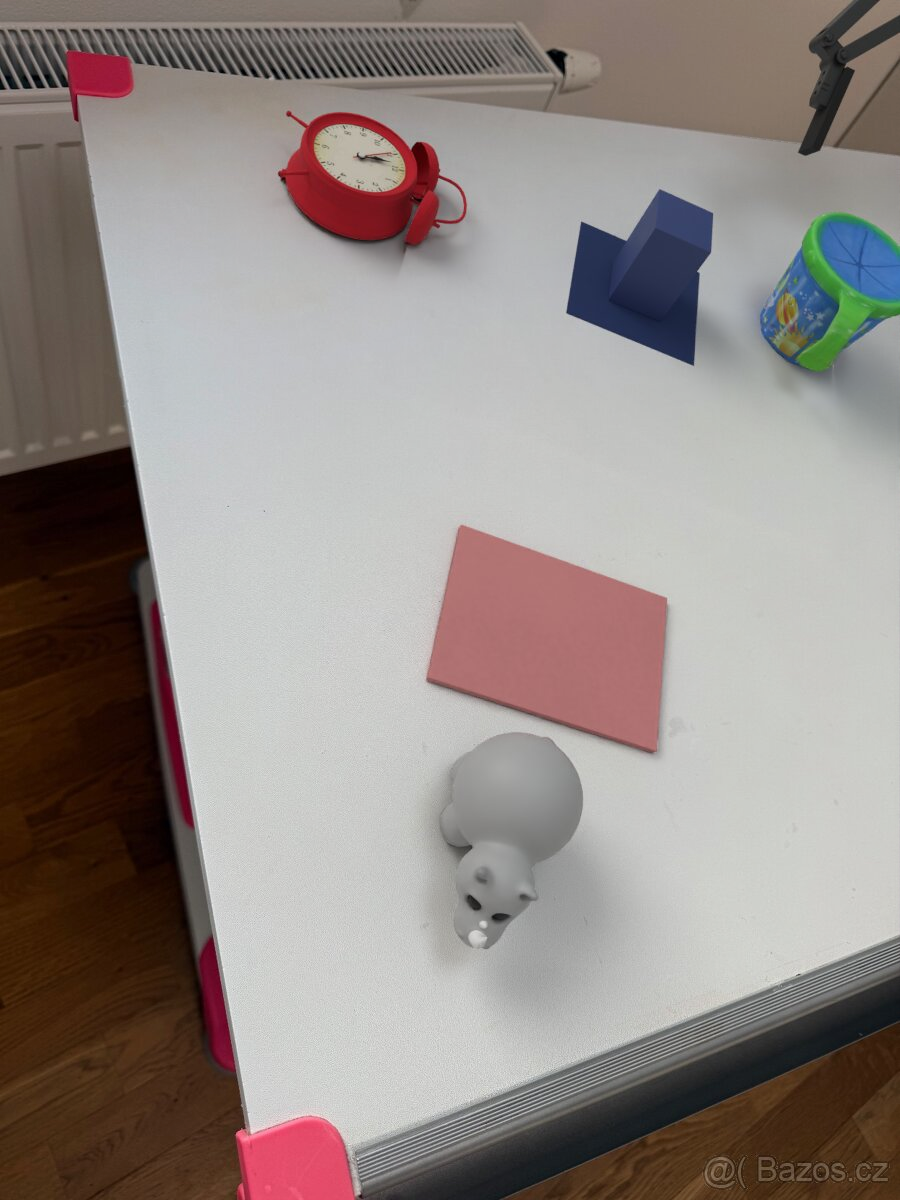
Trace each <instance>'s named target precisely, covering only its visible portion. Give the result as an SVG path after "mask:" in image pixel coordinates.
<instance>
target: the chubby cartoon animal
mask: <svg viewBox="0 0 900 1200" xmlns="http://www.w3.org/2000/svg"><path fill="white" fill-rule="evenodd" d="M450 778H451V779H450V780H451V781H452V784H453V785H452V792H451V802H450V803H448V805H447V806H445V807H444V808H443V810H442V811H441V813H440V816H439V819H438V825H439V826H438V827H439V831H440V833H441V836H442V837H443V839H445V841H446V842H447V843H449V844H450V845H451V846H453V847H459V848H462V847H463V848H464V847H467V846H471V847H472V848H470V850H469V851H468V852H467V853H465V855H463V857H462V858H461V860H460V862H459V864H458V866H457V869H456V872H455V879H454V881H455V883H454V884H455V889H456V891H457V895H458V899H459V900H458V901H459V902H458V904H457V906H456V908H455V911H454V913H453V914H454V915H453V921H452V922H453V928H454V931H455V933H456V935H457V936H458V938H459V939H460V941H462V943H464V944H465V945H466V946H467V947H470V948H472V949H483V950H489V949H490V948H491V947H493V946H494V945H495V944H497V943H498V941H500V940H501V938H502V936H503V934H504V933H505V931H506V929H507V928H508V926H509V925H510V924H511V923H512V922H513V921H514V920H515V919H516V918H518V916H520V915H521V914H522V913H523V912H525V910H527V908H528V907H529V906H530V904H531V903H532V902H536V901H537V902H538V899H539V894H538V892H537V890H536V879H535V874H534V869H533V868H534V866H535V865H536V864H538V863H541V862H544V861H546V860H549V859H550V858H553V856H555V855H557V854H558V853H559V852H560V851H562V849H563V848H565V847H566V846H567V844H569V842H570V841H571V839H572V838H573V836H574V835H575V833H576V831H577V829H578V827H579V825H580V822H581V818H582V815H583V809H584V791H583V786H582V781H581V778H580V776H579V773H578V771H577V768H576V767H575V764H574V763H573V762H572V760H571V759H570V757H569V756H568V755H567V754H566V753H565V752H564V751H563V750H562V749H561V748H560V747H559V746H557V745H556V743H555V741H554V740H553V739H551V738H550V737H549V736H539V735H536V734H533V733H528V732H520V731H519V732H518V731H516V732H514V731H513V732H504V733H500V734H497V735H495V736H491V737H489V738H487V739H485V740H483V741H482V742H480V743H479V744H478V745H476V746H475V747H474V748H473V749H472V750H470V751H468V752H466V753H463V754H462V755H460V756H459V757H458V758H457V759H456V760H455V761H454V763H453V764H452V767H451V770H450Z"/></svg>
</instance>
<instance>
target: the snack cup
mask: <svg viewBox="0 0 900 1200" xmlns="http://www.w3.org/2000/svg"><path fill="white" fill-rule="evenodd" d="M759 316H760V317H759V318H760V319H759V320H760V321H759V323H760V327H761V329H760V331H761V335H762V336H763V338H764V339H765V340H766V341H767V342H768V344H769V345H770V346H771V348H772V349H773V350H774V351H775V352H776V353H777V354H779V355H780V356H781V357H783V358H784V359H785V360H786V361H788V362H789V363H791V364H793V365H798V366H801V367H803V368H805V369H808V370H810V371H813V372H823V371H824V372H825V371H826V370H827V369H828V368H830V367H831V366H832V364H833V363H834V362H835V360H836V358H837V357H838V355H839V354H840V353H842V352H843V351H844V350H846V349H847V348H848V347H850V346H851V345H852V344H854V343H856V341H858V340H860V338H862V337H864V336H865V335H866V334H867V333H870V332H871V331H872V330H873V329H875V328H876V327H877V326H878V325H880V323H882V322H884V321H886V320H887V319H890V318H893V317H898V316H900V245H899V244H898V243H897V241H895V240H894V239H893V238H892V237H891V236H890V235H888V234H887V233H886V232H885V231H883V230H882V229H881V228H880V227H878V226H877V225H876V224H873V223H872V222H870V221H869V220H866V219H864V218H862V217H859V216H857V215H854V214H851V213H848V212H840V211H838V212H836V211H835V212H829V213H828V212H827V213H825V214H821V215H819V216H817V217H816V218H814V220H812V222H811V223H810V226H809V228H808V229H807V231H806V232H805V233H804V235H803V239H802V241H801V247H800V249H798V251H797V252H796V254H795V255H794V257H793V259H792V260H791V262H790V263H789V265H788V267H787V268H786V270H785V272H784V273H783V274H782V276H781V278H780V280H779V281H778V283H777V284H776V286H775V289H774V290H772V292H771V295H770V296H769V297H768V299H767V301H766V302H765V305H764V306H763V308H762V310H761V312H760V315H759Z"/></svg>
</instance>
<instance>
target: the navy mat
mask: <svg viewBox="0 0 900 1200" xmlns="http://www.w3.org/2000/svg"><path fill="white" fill-rule="evenodd" d="M626 241H627V240H625V239H623V238H621V237H618V236H616V235H614V234H612V233H610V232H608V231H605V230H602V229H600V228H598V227H595V226H593V225H591V224H588V223H586V222H584V221H580V226H579V232H578V237H577V244H576V250H575V255H574V256H575V257H574V262H573V269H572V276H571V281H570V287H569V292H568V299H567V306H566V312H565V314H567V315H568V316H572V317H574V318H576V319H579V320H581V321H583V322H586V323H589V324H591V325H594V326H596V327H598V328H601V329H603V330H606V331H608V332H610V333H612V334H616V335H618V336H619V337H622V338H625V339H627V340H630V341H632V342H635V343H637V344H639V345H642V346H645V347H647V348H649V349H651V350H654V351H656V352H658V353H661V354H663V355H666V356H668V357H671V358H672V359H673V358H674V359H676V360H678V361H681V362H683V363H686V364H688V365H691V366H693V367H695V355H696V338H697V324H698V323H697V321H698V306H699V289H700V272H699V271H697V272H696V274H695V275H694V277H693V278H692V279H691V281H690V282H689V283H688V285H687V286H686V287H685V289H684V290H683V291H682V293H681V294H680V296H679V297H678V298H677V300H676V301H675V302H674V304H673V305H672V306H671V308H670V309H669V310H668V312H667V313H666V315H665V316H664V317H663V319H662V320H661V321H657V320H655V319H652V318H650V317H648V316H645V315H643V314H640V313H638V312H636V311H633V310H631V309H629V308H626V307H624V306H621V305H619V304H617V303H614V302H612V301H609V300H608V299H609V291H610V284H611V276H612V269H613V262H614V260H615V258H616V257H617V255H618V254H619V252H620V251H621V249H622V247H623V246H624V244H625V243H626Z"/></svg>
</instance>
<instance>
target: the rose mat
mask: <svg viewBox="0 0 900 1200" xmlns="http://www.w3.org/2000/svg"><path fill="white" fill-rule="evenodd" d="M447 576H448V577H447V582H446V586H445V591H444V596H443V600H442V605H441V611H440V614H439V619H438V624H437V629H436V633H435V638H434V642H433V647H432V653H431V656H430V661H429V666H428V671H427V675H426V681H427V682H430V683H433V684H436V685H440V686H443V687H446V688H448V689H452V690H455V691H458V692H461V693H465V694H467V695H470V696H473V697H477V698H480V699H483V700H486V701H490V702H492V703H495V704H498V705H502V706H505V707H508V708H510V709H514V710H518V711H521V712H524V713H527V714H530V715H533V716H537V717H539V718H541V719H542V718H543V719H545V720H548V721H552V722H555V723H557V724H561V725H565V726H567V727H571V728H574V729H576V730H579V731H583V732H586V733H589V734H592V735H595V736H598V737H601V738H604V739H607V740H611V741H613V742H617V743H621V744H624V745H626V746H630V747H633V748H635V749H639V750H642V751H645V752H647V753H652V754H655V753H656V752H657V751H658V740H659V739H658V738H659V728H660V727H659V726H660V725H659V724H660V711H661V710H660V709H661V698H662V697H661V696H662V682H663V681H662V680H663V669H664V668H663V667H664V666H663V665H664V653H665V639H666V638H665V637H666V624H667V623H666V622H667V608H668V597H665V596H663V595H660V594H657V593H655V592H652V591H649V590H646V589H644V588H640V587H638V586H635V585H632V584H629V583H626V582H624V581H621V580H618V579H615V578H612V577H610V576H607V575H604V574H601V573H598V572H595V571H593V570H589V569H588V568H584V567H581V566H579V565H575V564H573V563H570V562H568V561H565V560H562V559H559V558H558V557H557V558H556V557H553V556H551V555H548V554H545V553H542V552H541V551H536V550H534V549H531V548H528V547H526V546H523V545H520V544H518V543H515V542H512V541H509V540H506V539H504V538H500V537H498V536H495V535H491V534H489V533H487V532H483V531H481V530H478V529H475V528H472V527H470V526H467V525H465V524H460V525H459V527H458V529H457V534H456V539H455V544H454V548H453V553H452V558H451V563H450V567H449V572H448V575H447Z"/></svg>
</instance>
